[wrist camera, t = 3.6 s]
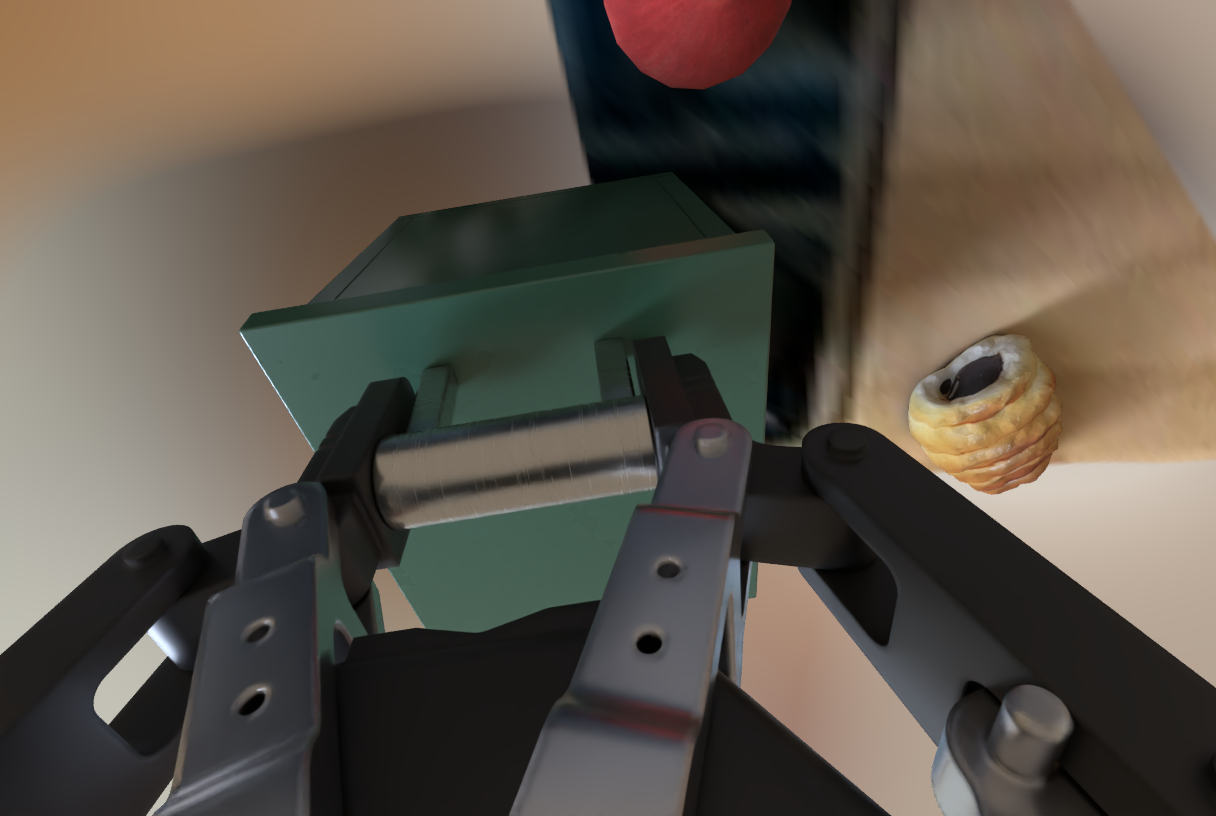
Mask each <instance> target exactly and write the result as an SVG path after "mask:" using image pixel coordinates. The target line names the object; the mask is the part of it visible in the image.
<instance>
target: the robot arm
mask: <svg viewBox="0 0 1216 816" xmlns="http://www.w3.org/2000/svg"><path fill="white" fill-rule="evenodd" d="M633 350H634V358H635V366H636V373H637V381H638V388H639V395H644V396H645V397H646V400H647V403H648V407H649V412H650V417H651V422H652V428H653V433H654V439H655V446H656V452H657V459H658V467H659V475H660V477H659V480H658V483H657V486H656V489H655V492H654V495H653V498H652V501H651V503H650V504H645V503H639V504H637V506H636V507H635V509H634V511H633V514H632V516H631V519H630V522H629V525H628V527H627V530H626V533H625V536H624V538H623V541H622V544H621V547H620V549H619V552H618V555H617V558H616V560H615V563H614V566H613V568H612V571H611V574H610V577H609V579H608V582H607V585H606V588H605V590H604V593H603V596H602V599H601V600H595V601H588V602H582V603H575V604H569V605H562V606H556V607H549V608H546V609H543V610H540V611H538V612H535V613H532V614H530V615H527V616H524V617H522V618H519V619H516V620H514V621H511V622H508V623H506V624H503V625H500V626H498V627H495V628H492V629H490V630H487V631H484V632H478V633H472V632H460V631H448V630H436V629H423V628H412V629H406V630H399V631H393V632H387V633H385V629H384V623H383V616H382V609H381V602H380V595H379V591H378V589H377V587H376V585H375V584H374V581H373V577H374V574H375V571H376V570H378V569H385V568H391V567H397V566H399V565H400V562H401V559H402V556H403V552H404V549H405V546H406V543H407V539H408V536H409V533H410V530H411V528H410V529H404V530H395V529H392V528H391V527H389V526H388V525H387V523H386V522H385V521H384V519H383V517H382V515H381V513H380V511H379V509H378V506H377V502H376V499H375V494H374V489H373V480H372V463H373V456H374V451H375V448H376V446H377V444H378V442H379V441H380V440H381V439H382V438H383V437H385V436H388V435H394V434H400V433H405V431H406V428H407V424H408V420H409V417H410V413H411V410H412V406H413V402H414V399H415V393H414V390H413V388H412V385H411V383H410V382H409V380H408V379H407V378H406V377H399V378H393V379H387V380H380V381H374V382H370V383H369V385H368V386H367V388H366V390H365V392H364V394H363V395H362V397H361V399H360V401H359V402H358V404H357V406H352V407H350V408H349V409H348V410H346V411H345V412H344V413H343V414H342V415H341V416H339V417H338V418H337V419H336V420H335V421H334V422H333V424H332V425H331V427H330V429H329V430H328V432H327V434H326V435H325V436H326V438H324V439H323V440H322V442H321V444H320V445H319V447H318V449H319V450H317V451H316V452H315V454H314V455H313V457H312V459H311V461H310V462H309V464H308V465H307V467H306V469H305V470H304V472H303V474H302V475H301V477H300V479H299V480H298V482H297V483H294V484H290V485H287V486H284V487H282V488H279V489H277V490H275V491H273V492H271V493H269V494H268V495H266V496H265V497H263V498H262V499H260V500H259V501H258V502H257V503H256V504H254V505H253V506H252V507H251V509H249V511H248V512H247V514H246V515H245V517H244V520H243V525H242V529H241V530H238V531H235V532H232V533H229V534H227V535H224V536H221V537H218V538H216V539H213V540H210V541H207V542H204V543H201V542H200V540H199V539H198V537H197V536H196V534H195V533H194V532H193V530H192V529H191V528H190V527H188V526H185V525H172V526H167V527H163V528H159V529H157V530H154V531H151V532H149V533H146V534H144V535H142V536H140V537H138V538H136V539H135V540H133V541H131V542H130V543H128V544H127V545H125V546H124V547H122V548H121V549H120V550H118V551H117V552H116V553H115V554H114V555H113V556H111V557H110V558H109V559H108V560H107V561H106V562H105V563H103V564H102V565H101V566H100V567H99V568H98V569H97V570H96V571H94V573H92V574H91V575H90V576H89V577H88V578H87V579H86V580H84V582H82V583H81V584H80V585H79V586H78V587H76V588H75V589H74V590H73V591H72V592H71V593H70V594H69V595H67V596H66V597H65V598H64V599H63V600H62V601H61V602H60V603H58V605H56V606H55V607H54V608H53V609H52V610H51V611H50V612H48V613H47V614H46V615H45V616H44V617H43V618H42V619H41V620H39V621H38V622H37V623H36V624H35V625H34V626H33V627H31V628H30V629H29V630H28V631H27V632H26V633H25V634H24V635H22V636H21V637H20V638H19V639H18V640H17V641H16V642H15V643H14V644H12V645H11V646H10V647H9V648H8V649H7V650H6V651H4V652H3V653H2V654H1V655H0V816H146V815H147V813H148V812H149V811H150V809H151V808H152V806H153V805H154V804H155V802H156V801H157V799H158V798H159V797H160V795H161V794H162V792H163V791H164V789H165V788H166V787H167V785H168V784H169V783H170V781H171V780H172V778H173V782H172V787H171V791H170V794H169V797H168V799H167V801H166V802H165V803H164V805H162V806H161V807H160V808H159V809H158V810H157V811H156V812H154V814H153V815H152V816H891V815H890V814H888V813H887V812H886V811H885V810H884V809H883V808H881V807H880V806H879V805H878V804H877V803H875V802H874V801H873V800H872V799H871V798H870V797H868V796H867V795H866V794H865V793H864V792H862V791H861V790H860V789H859V788H858V787H857V786H855V785H854V784H853V783H852V782H851V781H850V780H848V779H847V778H846V777H845V776H844V775H842V774H841V773H840V772H839V771H838V770H836V769H835V768H834V767H833V766H832V765H831V764H829V763H828V762H827V761H826V760H825V759H824V758H822V757H821V756H820V755H819V754H817V753H816V752H815V751H814V750H813V749H812V748H810V747H809V746H808V745H807V744H806V743H805V742H803V741H802V740H801V739H800V738H799V737H797V736H796V735H795V734H794V733H793V732H792V731H790V730H789V729H788V728H787V727H786V726H785V725H783V724H782V723H781V722H780V721H778V720H777V719H776V718H775V717H774V716H773V715H771V714H770V713H769V712H768V711H767V710H766V709H764V708H763V707H762V706H761V705H760V704H758V703H757V702H756V701H755V700H754V699H753V698H751V697H750V696H749V695H748V694H747V693H746V692H744V691H743V690H742V689H741V688H740V686H741V674H742V653H743V637H744V627H745V619H746V610H747V602H748V594H749V585H750V577H751V568H752V562H760V563H770V564H778V565H788V566H796V567H798V569H799V571H800V573H801V574H802V576H803V577H804V578H805V580H806V581H807V582H808V583H809V585H810V586H811V587H812V588H813V590H814V591H815V592H816V594H817V595H818V596H819V597H820V599H821V600H822V601H823V602H824V603H825V605H826V606H827V608H828V609H829V610H830V611H831V613H832V614H833V615H834V616H835V618H836V619H837V620H838V621H839V623H840V624H841V625H842V627H843V628H844V629H845V630H846V632H847V633H848V634H849V635H850V637H851V638H852V639H853V640H854V642H855V643H856V644H857V645H858V647H859V648H860V649H861V651H862V652H863V653H864V654H865V656H866V657H867V658H868V659H869V661H870V662H871V663H872V665H873V666H874V667H875V668H876V670H877V671H878V672H879V673H880V675H881V676H882V677H883V678H884V680H885V681H886V682H887V683H888V685H889V686H890V687H891V689H892V690H893V691H894V692H895V694H896V695H897V696H898V697H899V699H900V700H901V701H902V703H903V704H904V705H905V706H906V707H907V709H908V710H909V711H910V713H911V714H912V715H913V717H914V718H915V719H916V720H917V721H918V723H919V724H920V725H921V727H922V728H923V729H924V730H925V732H926V733H927V734H928V735H929V737H930V738H931V739H932V741H933V742H934V743H935V744H936V746H937V747H938V749H937V752H936V755H935V758H934V762H933V765H932V771H931V782H932V788H933V792H934V796H935V798H936V801H937V803H938V806H939V808H940V809H941V811H942V813H943V815H944V816H1216V688H1215V687H1214V686H1213V685H1211V684H1210V683H1209V682H1207V681H1206V680H1205V679H1203V678H1202V677H1201V676H1199V675H1198V674H1197V673H1195V672H1194V671H1193V670H1192V669H1190V668H1189V667H1187V666H1186V665H1185V664H1184V663H1182V662H1181V661H1180V660H1178V659H1177V658H1176V657H1174V656H1173V655H1172V654H1171V653H1169V652H1168V651H1167V650H1165V649H1164V648H1162V647H1161V646H1160V645H1159V644H1157V643H1156V642H1154V641H1153V640H1152V639H1151V638H1149V637H1148V636H1147V635H1145V634H1144V633H1143V632H1142V631H1140V630H1139V629H1138V628H1136V627H1135V626H1134V625H1132V624H1131V623H1130V622H1128V621H1127V620H1126V619H1124V618H1123V617H1122V616H1120V615H1119V614H1118V613H1116V612H1115V611H1114V610H1113V609H1111V608H1110V607H1109V606H1107V605H1106V604H1105V603H1103V602H1102V601H1101V600H1099V599H1098V598H1097V597H1095V596H1094V595H1093V594H1091V593H1090V592H1089V591H1088V590H1086V589H1085V588H1084V587H1082V586H1081V585H1080V584H1078V583H1077V582H1076V581H1074V580H1073V579H1072V578H1070V577H1069V576H1068V575H1066V574H1065V573H1064V572H1062V571H1061V570H1060V569H1059V568H1057V567H1056V566H1055V565H1053V564H1052V563H1051V562H1049V561H1048V560H1047V559H1045V558H1044V557H1043V556H1041V555H1040V554H1039V553H1038V552H1036V551H1035V550H1034V549H1032V548H1031V547H1030V546H1028V545H1027V544H1025V543H1024V542H1023V541H1022V540H1020V539H1019V538H1018V537H1016V536H1015V535H1014V534H1012V533H1011V532H1010V531H1008V530H1007V529H1006V528H1005V527H1003V526H1002V525H1000V524H999V523H998V522H997V521H995V520H994V519H993V518H991V517H990V516H989V515H987V514H986V513H985V512H984V511H982V510H981V509H980V508H978V507H977V506H975V505H974V504H973V503H972V502H970V501H969V500H968V499H966V498H965V497H964V496H962V495H961V494H960V493H958V492H957V491H956V490H955V489H953V488H952V487H951V486H949V485H948V484H947V483H945V482H944V481H943V480H941V479H940V478H939V477H937V476H936V475H935V474H933V473H932V472H931V471H930V470H928V469H927V468H926V467H924V466H923V465H922V464H920V463H919V462H918V461H916V460H915V459H914V458H912V457H911V456H910V455H908V454H907V453H906V452H905V451H903V450H902V449H901V448H899V447H898V446H897V445H895V444H894V443H893V442H891V441H890V440H889V439H887V438H886V437H885V436H883V435H882V434H880V433H879V432H877V431H875V430H873V429H871V428H868V427H866V426H862V425H858V424H852V423H831V424H825V425H821V426H819V427H816V428H814V429H812V430H811V431H809V432H808V433H807V434H806V435H805V437H804V438H803V441H802V447H787V446H773V445H767V444H763V443H759V442H756V441H754V440H752V437H751V434H750V432H749V431H748V430H747V429H746V428H745V427H744V426H743V425H741V424H739V423H737V422H735V421H733V420H732V418H731V416H730V414H729V411H728V409H727V407H726V405H725V403H724V401H723V398H722V396H721V394H720V392H719V390H718V388H717V387H716V383H715V381H714V379H713V377H712V375H711V373H710V370H709V368H708V366H707V364H706V362H704V361H703V360H701V359H700V358H698V357H697V356H695V355H694V354H692V353H688V354H682V355H676V356H672V354H671V351H670V348H669V345H668V343H667V340H666V337H665V336H658V337H652V338H646V339H640V340H633ZM146 632H147V633H148V634H149V635H150V637H151V638H152V639H153V640H154V641H155V642H156V643H157V644H158V645H159V647H160V648H161V649H162V650H163V651H164V652H165V653H166V654H167V655H168V656H167V658H166V659H165V660H164V661H163V662H162V663H161V665H160V666H159V667H158V668H157V669H156V670H155V672H154V673H153V674H152V675H151V676H150V678H149V679H148V680H147V681H146V682H145V683H144V684H143V685H142V687H141V688H140V689H139V690H138V691H137V693H136V694H135V695H134V696H133V697H132V698H131V699H130V701H129V702H128V703H127V704H126V705H125V706H124V708H123V709H122V710H121V711H120V712H119V713H118V715H117V716H116V717H115V718H114V719H113V720H112V722H111V723H110V724H109V725H108V724H106V723H105V722H104V721H103V720H102V719H101V718H100V717H99V716H98V715H97V714H96V712H95V710H94V706H93V704H94V702H93V701H94V696H95V693H96V690H97V688H98V686H99V684H100V683H101V681H102V680H103V679H104V678H105V677H106V675H107V674H108V673H109V672H110V671H111V670H112V669H113V668H114V667H115V666H116V665H117V664H118V662H119V661H120V660H121V659H122V658H123V657H124V656H125V655H126V654H127V653H128V652H129V651H130V650H131V648H132V647H133V646H134V645H135V644H136V643H137V642H138V641H139V640H140V639H141V638H142V637H143V636H144V634H145V633H146Z"/></svg>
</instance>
